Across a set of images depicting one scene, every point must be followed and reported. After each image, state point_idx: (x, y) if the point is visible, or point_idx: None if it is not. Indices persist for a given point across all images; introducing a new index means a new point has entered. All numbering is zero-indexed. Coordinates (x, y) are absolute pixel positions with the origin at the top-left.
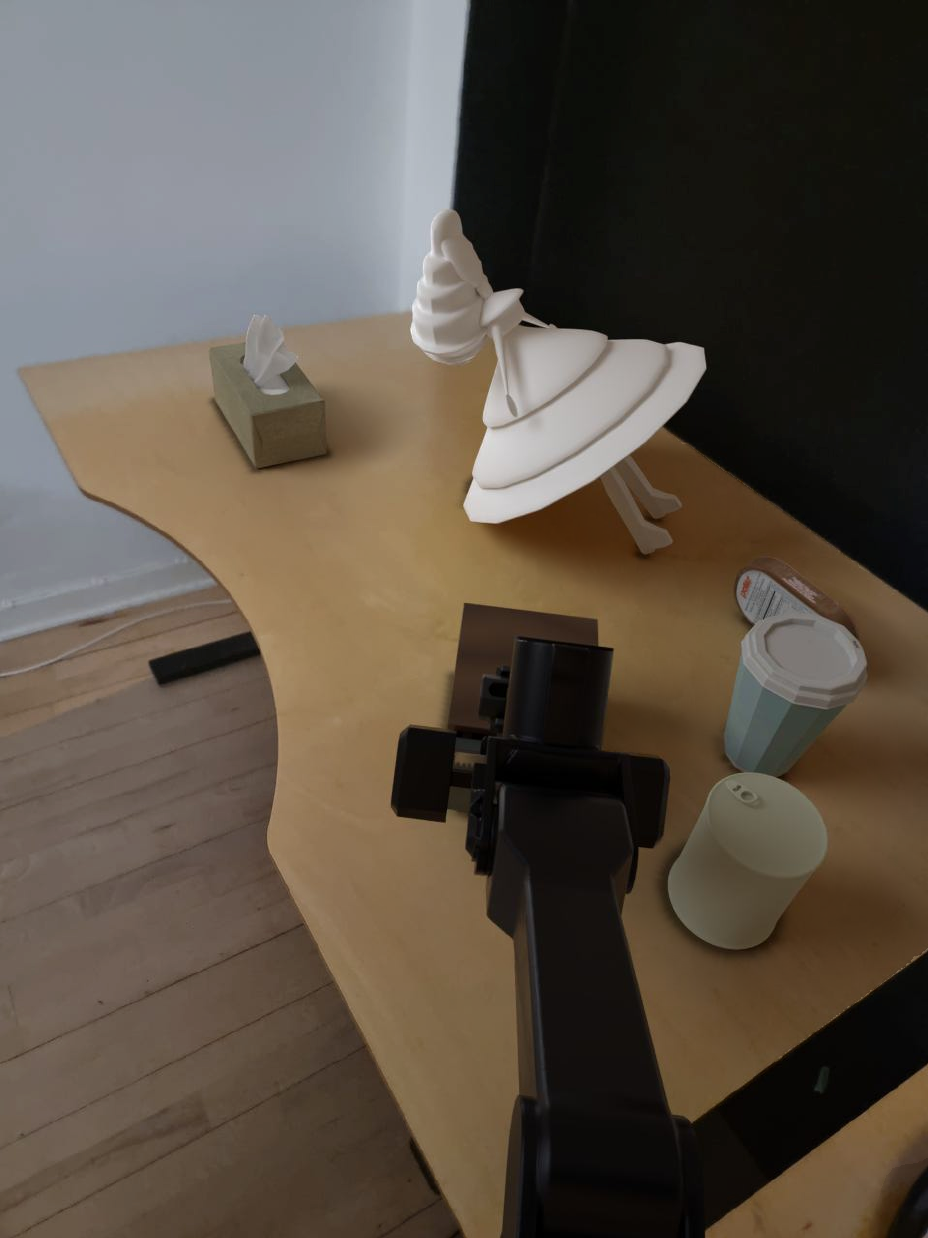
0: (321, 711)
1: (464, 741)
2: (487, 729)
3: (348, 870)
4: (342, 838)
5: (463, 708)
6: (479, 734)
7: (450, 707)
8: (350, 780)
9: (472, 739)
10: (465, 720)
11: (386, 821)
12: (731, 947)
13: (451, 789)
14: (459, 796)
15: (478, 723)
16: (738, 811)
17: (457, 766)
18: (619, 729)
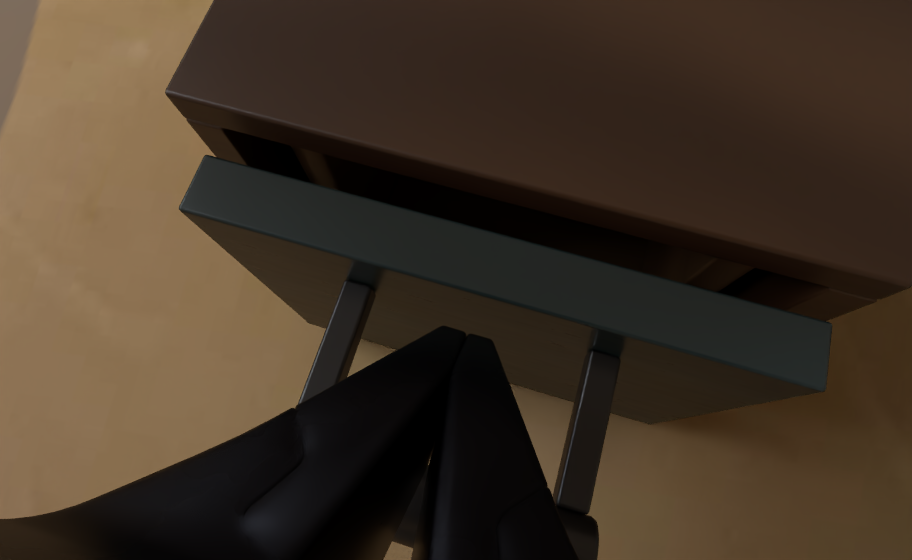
0: (110, 24)
1: (244, 181)
2: (339, 140)
3: (36, 452)
4: (51, 359)
5: (263, 25)
6: None
7: (206, 15)
8: (119, 204)
9: (282, 176)
10: (250, 84)
11: (170, 326)
12: None
13: (290, 301)
14: (323, 316)
15: (305, 105)
16: None
17: (255, 262)
18: None
